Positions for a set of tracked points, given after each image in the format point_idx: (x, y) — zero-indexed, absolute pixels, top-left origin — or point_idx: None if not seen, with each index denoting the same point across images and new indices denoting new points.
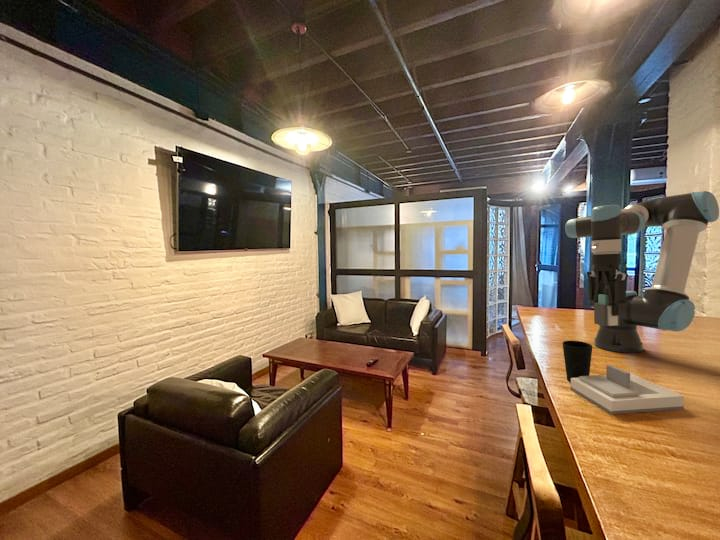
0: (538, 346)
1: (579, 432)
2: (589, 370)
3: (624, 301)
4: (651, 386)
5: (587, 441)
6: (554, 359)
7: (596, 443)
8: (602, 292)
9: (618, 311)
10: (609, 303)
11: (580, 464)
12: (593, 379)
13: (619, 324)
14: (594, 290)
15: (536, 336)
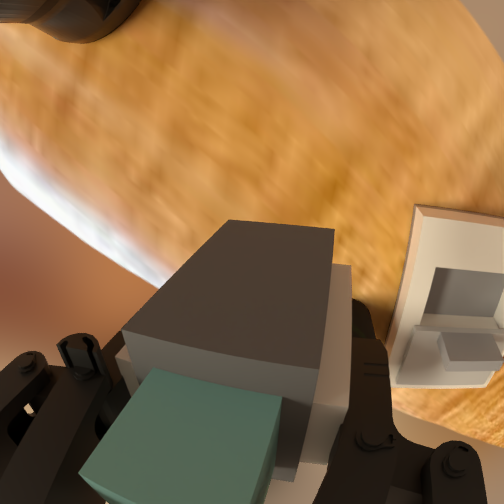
0: (72, 219)
1: (474, 426)
2: (373, 334)
3: (474, 486)
4: (499, 254)
5: (487, 427)
6: (175, 256)
7: (495, 421)
8: (67, 495)
9: (388, 378)
10: (274, 450)
11: (497, 445)
12: (424, 370)
13: (333, 230)
14: (3, 465)
15: (9, 168)
